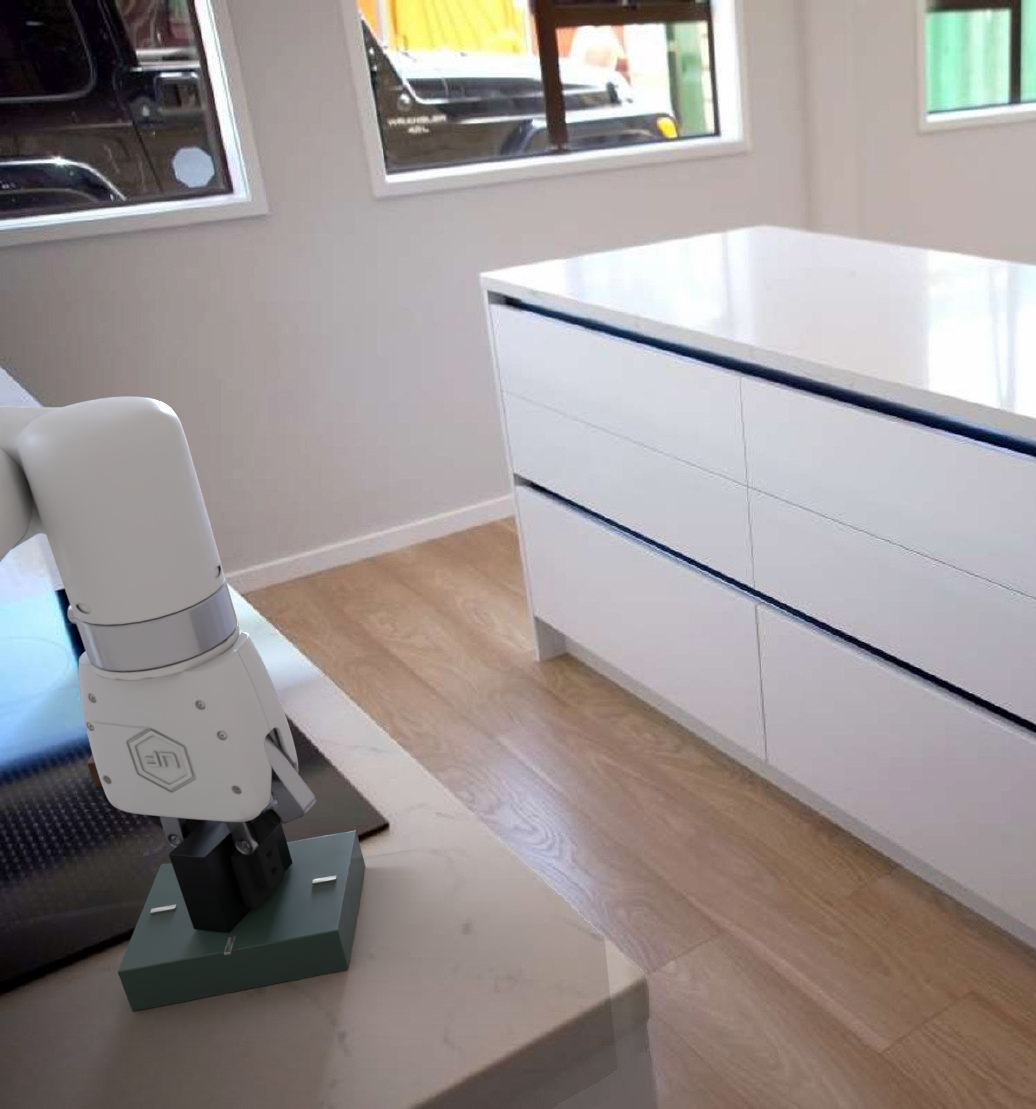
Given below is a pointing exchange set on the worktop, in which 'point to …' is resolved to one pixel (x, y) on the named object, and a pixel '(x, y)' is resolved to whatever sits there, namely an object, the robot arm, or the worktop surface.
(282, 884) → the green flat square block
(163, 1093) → the worktop surface
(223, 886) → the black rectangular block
